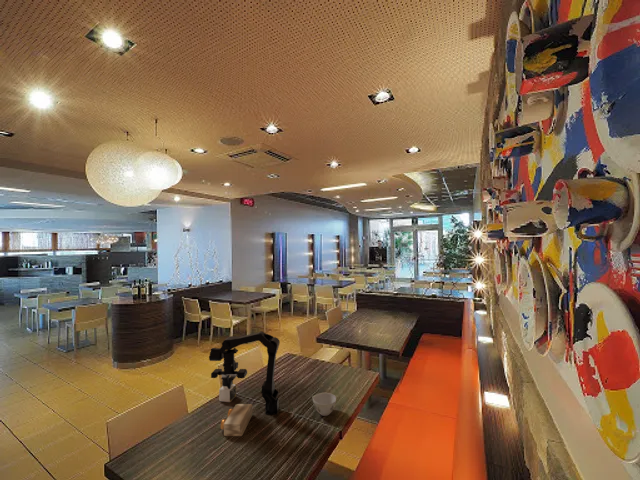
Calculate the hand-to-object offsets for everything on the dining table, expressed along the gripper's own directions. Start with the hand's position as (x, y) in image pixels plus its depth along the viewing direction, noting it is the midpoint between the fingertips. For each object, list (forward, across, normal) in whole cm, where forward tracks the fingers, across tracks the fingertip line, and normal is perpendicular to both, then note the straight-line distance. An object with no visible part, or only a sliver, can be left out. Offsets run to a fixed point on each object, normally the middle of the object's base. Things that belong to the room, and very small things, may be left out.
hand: (229, 388), depth 157 cm
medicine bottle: (+12, +6, -12) cm, 18 cm away
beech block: (+12, -9, +12) cm, 19 cm away
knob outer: (+11, -8, +17) cm, 21 cm away
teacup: (+12, -52, 0) cm, 53 cm away
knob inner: (+11, -8, +7) cm, 16 cm away
